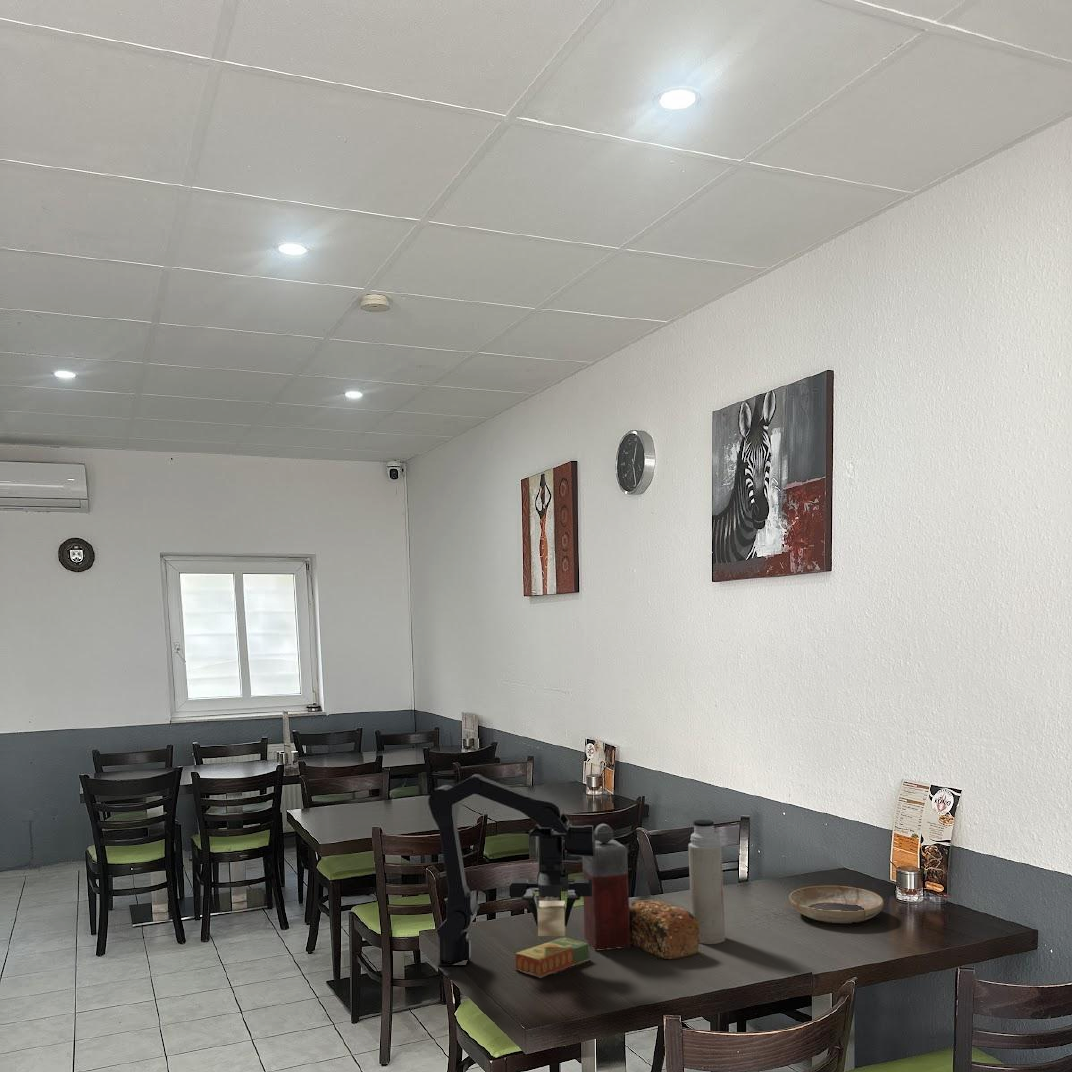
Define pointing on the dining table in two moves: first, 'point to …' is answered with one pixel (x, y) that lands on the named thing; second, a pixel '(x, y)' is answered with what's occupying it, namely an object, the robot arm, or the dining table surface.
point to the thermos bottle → (707, 882)
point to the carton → (552, 956)
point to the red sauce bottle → (607, 893)
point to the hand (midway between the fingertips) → (551, 926)
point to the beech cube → (551, 918)
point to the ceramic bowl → (838, 895)
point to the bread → (663, 929)
